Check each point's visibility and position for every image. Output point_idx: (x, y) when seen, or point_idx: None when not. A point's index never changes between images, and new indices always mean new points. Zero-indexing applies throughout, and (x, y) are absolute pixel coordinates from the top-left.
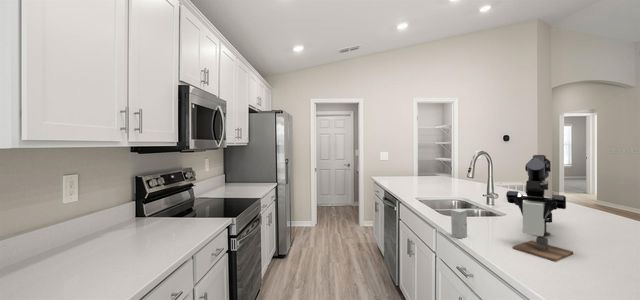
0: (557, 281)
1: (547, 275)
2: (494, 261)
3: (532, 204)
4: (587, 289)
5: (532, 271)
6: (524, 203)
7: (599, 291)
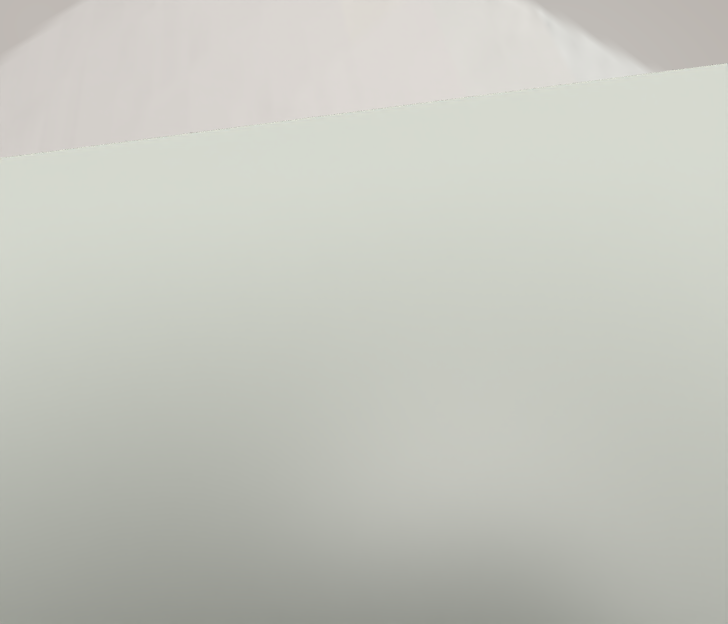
0: (198, 37)
1: (248, 74)
2: (564, 44)
3: (324, 139)
4: (72, 51)
5: (328, 67)
6: (721, 79)
7: (24, 69)
